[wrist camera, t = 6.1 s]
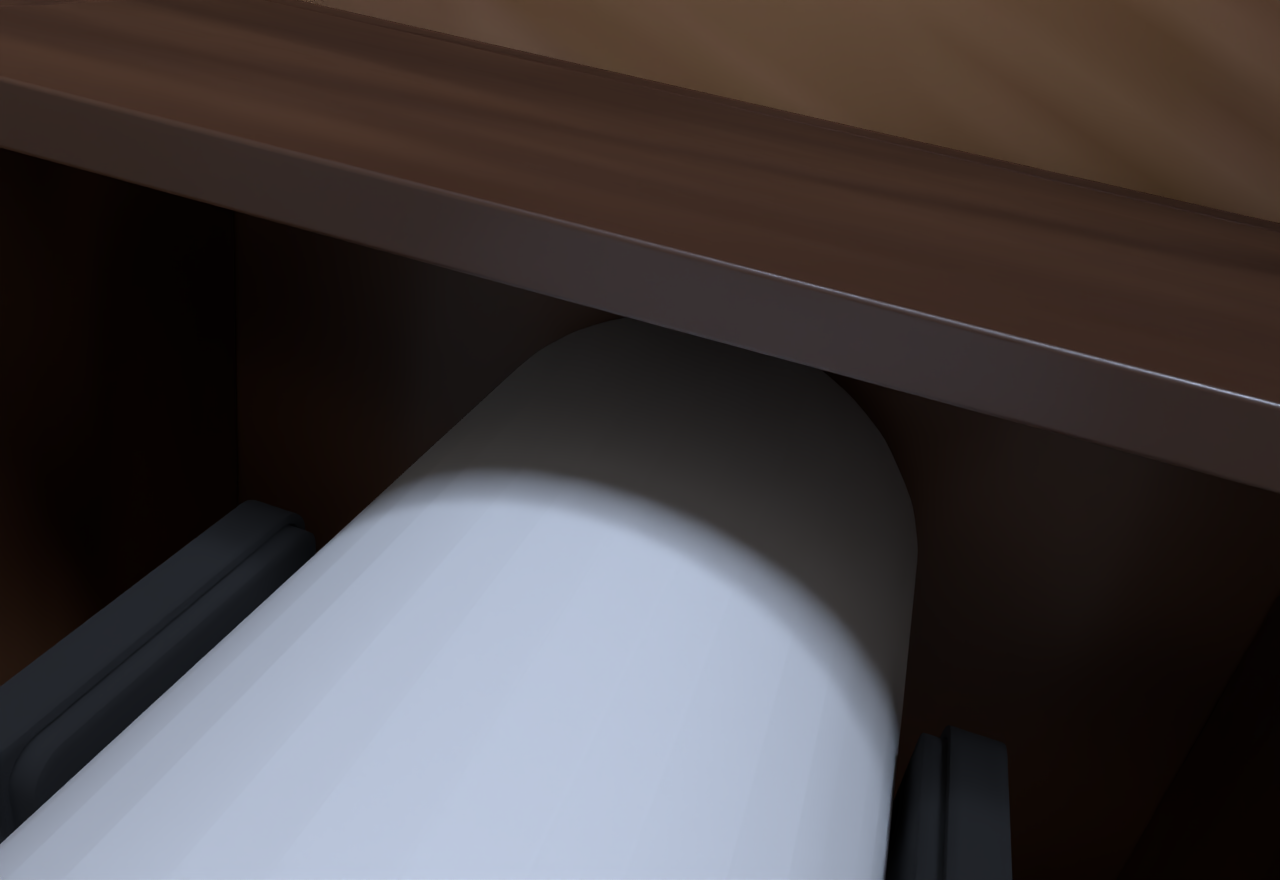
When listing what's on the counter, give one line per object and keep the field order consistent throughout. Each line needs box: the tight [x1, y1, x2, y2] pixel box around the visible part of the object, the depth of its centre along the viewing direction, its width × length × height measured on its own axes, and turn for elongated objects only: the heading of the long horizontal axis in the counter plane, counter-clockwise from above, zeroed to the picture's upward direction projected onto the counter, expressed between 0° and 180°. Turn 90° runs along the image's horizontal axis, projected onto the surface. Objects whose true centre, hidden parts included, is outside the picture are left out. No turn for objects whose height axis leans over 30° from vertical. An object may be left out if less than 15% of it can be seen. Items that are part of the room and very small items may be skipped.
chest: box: [0, 0, 1280, 880], centre depth 13 cm, size 11×16×7 cm
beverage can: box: [0, 318, 918, 880], centre depth 10 cm, size 6×6×12 cm
